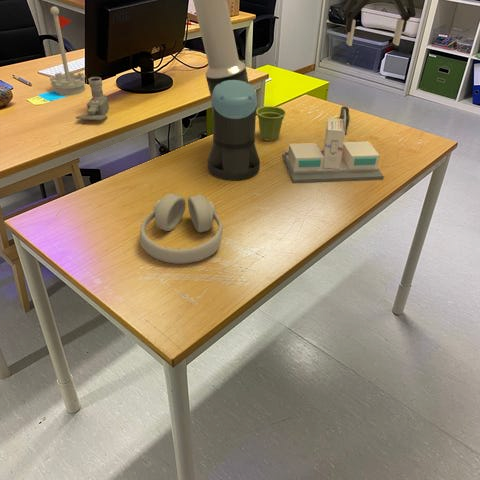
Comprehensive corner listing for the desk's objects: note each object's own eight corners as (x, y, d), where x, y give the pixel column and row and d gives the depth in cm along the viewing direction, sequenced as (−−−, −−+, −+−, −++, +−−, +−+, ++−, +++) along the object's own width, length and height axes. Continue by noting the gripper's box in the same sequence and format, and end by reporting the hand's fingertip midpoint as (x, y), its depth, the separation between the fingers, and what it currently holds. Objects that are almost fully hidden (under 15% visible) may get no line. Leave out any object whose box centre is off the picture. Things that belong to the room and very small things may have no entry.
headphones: (151, 209, 116) (135, 270, 102) (147, 185, 110) (130, 245, 96) (225, 212, 116) (219, 273, 102) (225, 187, 110) (219, 249, 96)
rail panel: (293, 183, 129) (295, 164, 126) (282, 156, 142) (283, 138, 138) (383, 179, 132) (387, 160, 129) (364, 153, 145) (368, 136, 141)
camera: (110, 76, 162) (96, 91, 150) (115, 108, 169) (102, 126, 157) (85, 75, 162) (69, 90, 151) (91, 107, 170) (76, 124, 158)
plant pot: (289, 139, 152) (291, 114, 146) (265, 145, 148) (266, 119, 142) (273, 129, 158) (275, 104, 153) (249, 134, 154) (250, 109, 149)
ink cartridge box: (321, 154, 139) (328, 106, 131) (338, 156, 139) (346, 108, 130) (321, 168, 133) (329, 118, 124) (339, 169, 132) (348, 120, 123)
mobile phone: (340, 104, 165) (341, 120, 153) (349, 105, 165) (350, 121, 152) (338, 118, 168) (339, 134, 156) (346, 119, 167) (348, 135, 155)
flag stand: (57, 98, 176) (38, 11, 158) (49, 87, 185) (30, 4, 167) (91, 93, 181) (77, 8, 163) (82, 83, 190) (68, 1, 172)
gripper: (345, -43, 114) (332, 48, 126) (442, -42, 116) (420, 47, 129) (336, -47, 120) (325, 41, 132) (429, -45, 122) (409, 40, 135)
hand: (372, 44), depth 131 cm, fingers open, 13 cm apart
